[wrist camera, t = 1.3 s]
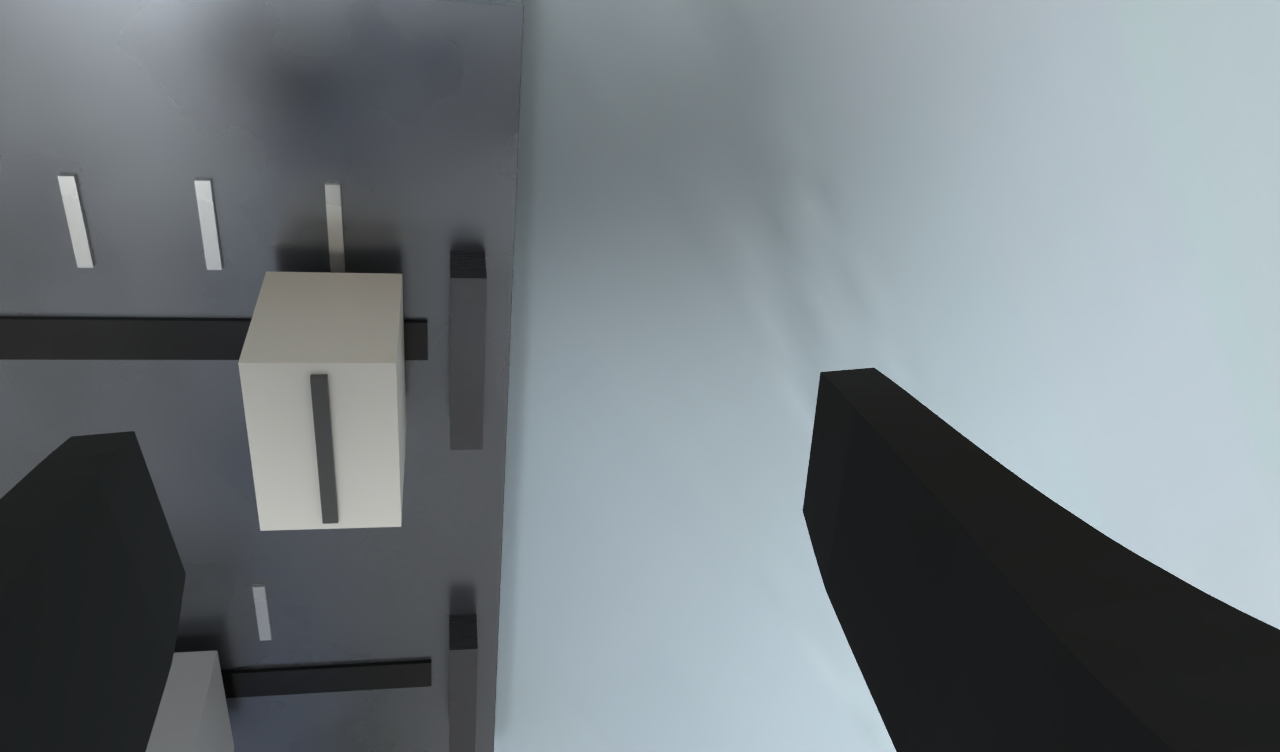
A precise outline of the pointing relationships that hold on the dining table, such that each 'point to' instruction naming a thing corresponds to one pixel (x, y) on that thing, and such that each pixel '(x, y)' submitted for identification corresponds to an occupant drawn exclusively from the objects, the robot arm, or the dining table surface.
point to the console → (224, 305)
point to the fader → (193, 707)
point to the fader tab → (326, 400)
